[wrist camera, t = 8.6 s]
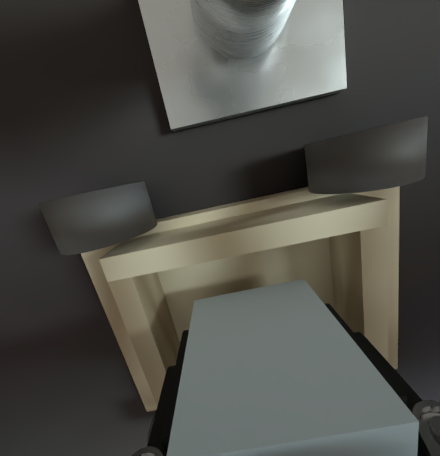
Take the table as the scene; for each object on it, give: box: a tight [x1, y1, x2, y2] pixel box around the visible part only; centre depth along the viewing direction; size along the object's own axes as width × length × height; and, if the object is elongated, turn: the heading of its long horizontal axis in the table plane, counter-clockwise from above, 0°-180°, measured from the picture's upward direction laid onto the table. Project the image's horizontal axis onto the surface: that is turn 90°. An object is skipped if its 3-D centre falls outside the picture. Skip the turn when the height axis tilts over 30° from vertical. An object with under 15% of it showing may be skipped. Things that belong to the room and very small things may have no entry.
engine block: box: [167, 279, 419, 456], centre depth 7 cm, size 5×5×6 cm
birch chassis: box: [38, 116, 428, 441], centre depth 11 cm, size 16×16×4 cm
